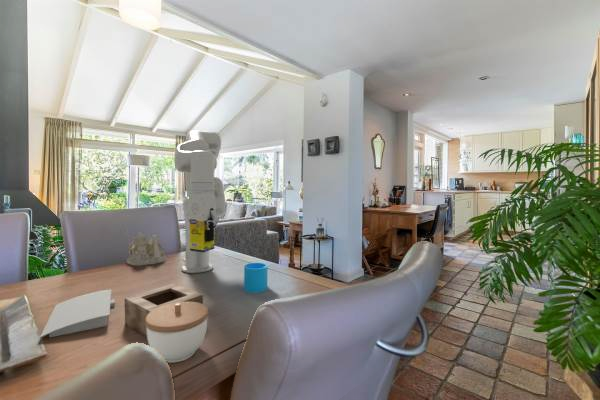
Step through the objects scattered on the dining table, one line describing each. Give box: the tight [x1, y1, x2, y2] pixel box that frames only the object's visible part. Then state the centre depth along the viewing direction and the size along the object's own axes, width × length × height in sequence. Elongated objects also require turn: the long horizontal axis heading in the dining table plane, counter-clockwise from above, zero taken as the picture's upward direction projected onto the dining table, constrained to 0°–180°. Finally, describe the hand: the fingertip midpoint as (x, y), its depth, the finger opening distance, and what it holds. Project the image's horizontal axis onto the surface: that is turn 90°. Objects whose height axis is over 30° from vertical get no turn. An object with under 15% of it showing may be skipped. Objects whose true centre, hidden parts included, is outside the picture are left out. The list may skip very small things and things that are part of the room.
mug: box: [243, 262, 268, 294], centre depth 106 cm, size 12×8×8 cm
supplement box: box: [190, 219, 215, 253], centre depth 101 cm, size 6×6×11 cm
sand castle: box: [126, 231, 167, 266], centre depth 138 cm, size 16×16×15 cm
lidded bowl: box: [145, 301, 209, 364], centre depth 65 cm, size 13×13×11 cm
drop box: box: [124, 283, 204, 338], centre depth 79 cm, size 14×14×7 cm
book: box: [39, 289, 116, 338], centre depth 81 cm, size 15×23×4 cm, turn 32°
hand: (202, 239), depth 101 cm, fingers closed on supplement box, 6 cm apart
